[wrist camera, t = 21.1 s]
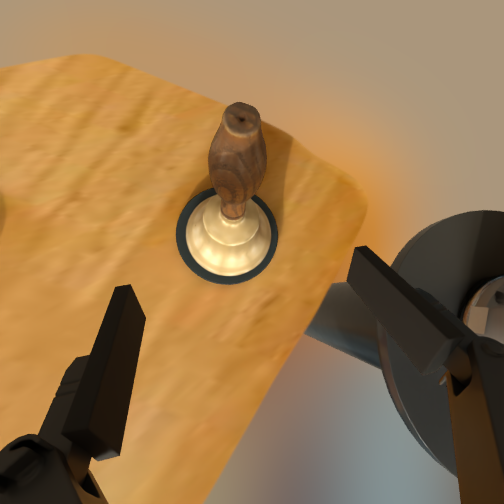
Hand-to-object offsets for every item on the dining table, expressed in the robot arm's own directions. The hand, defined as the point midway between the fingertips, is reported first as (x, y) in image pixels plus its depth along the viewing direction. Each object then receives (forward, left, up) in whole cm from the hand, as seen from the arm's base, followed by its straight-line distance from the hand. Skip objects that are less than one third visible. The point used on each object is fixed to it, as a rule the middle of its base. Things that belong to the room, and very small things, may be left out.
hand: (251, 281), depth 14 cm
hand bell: (+2, -5, -9) cm, 10 cm away
